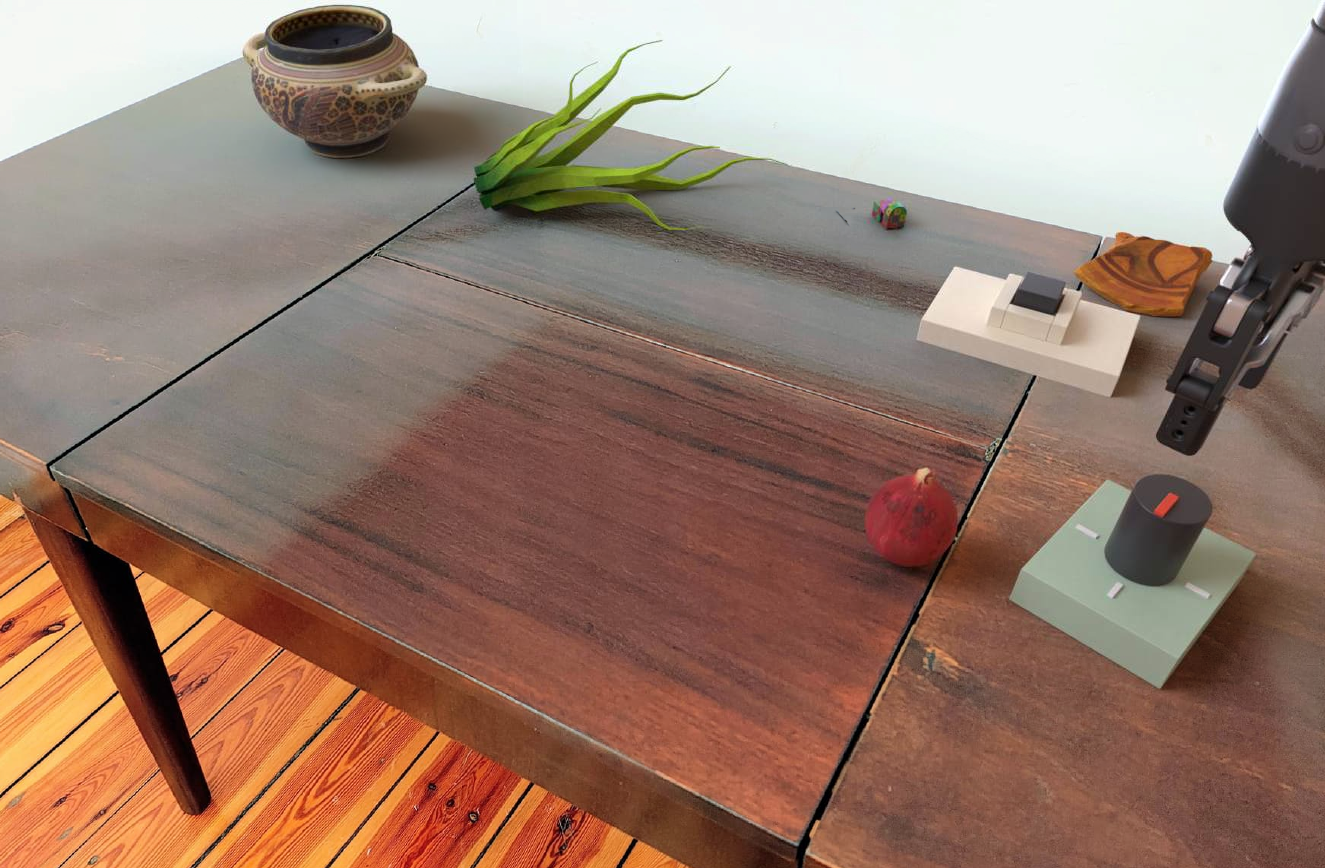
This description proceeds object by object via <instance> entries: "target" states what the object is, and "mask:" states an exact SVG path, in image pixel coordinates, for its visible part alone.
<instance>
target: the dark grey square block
mask: <svg viewBox="0 0 1325 868" xmlns="http://www.w3.org/2000/svg"><path fill="white" fill-rule="evenodd" d="M1023 277H1024V279H1023V281H1022V283H1021V285H1020V287H1019V288H1018V291H1017V294H1016V297H1015V300H1014V304H1013V305H1016V306H1019V307H1023V308H1027V309H1030V310H1034V311H1038V312H1041V313H1045V314H1049V315H1052V316H1053V314H1054V311H1055V309H1056V307H1057V305H1058V303H1059V301H1060V298H1061V295H1062V293H1063V290H1064V288H1066V284H1067V281H1065V280H1061V279H1058V278H1054V277H1049V276H1045V275H1042V274H1039V273H1034V272H1030V271H1027V272H1026V274H1025V275H1024V276H1023Z"/></svg>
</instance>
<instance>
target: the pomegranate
mask: <svg viewBox="0 0 1325 868" xmlns="http://www.w3.org/2000/svg"><path fill="white" fill-rule="evenodd" d="M935 476H936V473H935V472H934V470H932V469H931V468H930V467H928V466H926V467H924V468H919V469H917V470H916V473H915V474H904V475H901V476H897V477H893V478H891V479H889V480H888V481H886V482H885V483H884V484H882V485H881V486H880V487H879V488H878V489H876V491H874V493H873V495H872V496H871V497H870V499H869V501H868V504H867V507H866V510H865V515H864V529H865V533H866V536H867V539H868V541H869V544H870V545H871V547H872V548H873V549H874V550H875V552H876V553H877V554H878V556H880V557H881V558H882V559H885V560H886V561H888V562H890V563H891V564H892V565H893V564H894V565H897V566H900V567H905V568H909V567H922V566H924V565H926V564H929V563H931V562H932V561H935V560H936V559H938V558H941V557H942V556H943V555H944V553H945V552H946V551H947V550H948V549H949V548H950V546H951V545H952V543H953V542H954V541H955V539H956V535H957V533H958V523H959V521H958V519H959V515H958V509H957V506H956V504H955V500H954V499H953V496H952V494H951V493H950V491H949V490H948V489H947V488H946V487H945V486H944V485H943V484H942V483H941V482H940V481H938V480H936V479H935Z"/></svg>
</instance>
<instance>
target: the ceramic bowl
mask: <svg viewBox="0 0 1325 868" xmlns="http://www.w3.org/2000/svg"><path fill="white" fill-rule="evenodd" d="M242 57H243V59H244V60H245V62H246V63H247V64H248V65H249V66H250V67H251V84H252V91H253V93H254V96H255V98H256V100H257V102H258V104H259V105H260V108H261V109H263V111H264V112H265V113H266V115H267V116H268V117H269V118H270V119H271V121H273V122H274V123H275V124H277V125H278V126H279V127H280V128H282V129H283V130H284V131H286V132H288V133H289V134H291V135H293V136H296V137H298V138H300V139H303V140H304V142H305V146H306V147H307V148H308V149H309V150H310V151H311V152H312V153H314V154H316V155H319V156H323V157H328V158H333V159H341V158H342V159H348V158H356V157H363V156H366V155H370V154H372V153H375V152H376V151H378V150H380V149H382V148H383V147H384V146H385V145H386V144H387V143H388V141H389V140H390V131H391V130H392V129H393V128H394V127H395V126H397V125H398V124H399V123H400V122H402V120H403V119H404V118H405V116H406V115H407V114H408V113H409V111H410V110H411V109H412V106H413V104H414V103H415V102H416V99H417V96H418V93H419V90H420V89H422V88H423V87H424V86H425V85H426V83H427V81H428V74H427V73H426V71H424V69H423V68H420V66H419V62H418V59H417V57H416V54H415V53H414V50H413V49H412V47H410V45H409V44H408V43H407V42H406V41H405V40H404V39H402V37H400V36H399V35H398V34H396V33H394V32H393V26H392V20H391V18H390V17H389V16H388V15H387V14H386V13H384V12H382V11H381V10H379V9H376V8H374V7H370V6H365V5H357V4H327V5H318V6H313V7H308V8H304V9H300V10H296V11H293V12H291V13H289V14H285V15H283V16H281V17H278V18H277V19H275V20H272V21H271V23H270V24H268V26H267V27H266V29H265V32H261V33H257V34H255V35H254V36H252V37H251V38H249V39H248V40H247V41H246V43H245V44H244V45H243V48H242Z"/></svg>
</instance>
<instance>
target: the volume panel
mask: <svg viewBox="0 0 1325 868" xmlns="http://www.w3.org/2000/svg"><path fill="white" fill-rule="evenodd" d="M1131 491H1132V490H1130V489H1128V488H1127V487H1125V486H1122V485H1121V484H1119V483H1117V482H1114V481H1113V480H1110V479H1106V480H1105V481H1104V482H1103V483H1102V484H1101V485H1100V486H1099V487H1098V489H1096V491H1095V492H1093V494H1092V495H1091V496H1089V498H1088V499H1087V500H1086V501H1085V502H1084V503H1083V504H1082V505H1081V506H1080V507H1079V508H1078V509H1077V510H1076V511H1075V512H1074V513H1073V514H1072V515H1071V517H1070V518H1068V519H1067V521H1066V522H1065V523H1064V524H1063V525H1062V526H1061V527H1060V528H1058V530H1057V531H1056V532H1055V533H1054V534H1053V535H1052V536H1051V538H1049V539H1048V540H1047V542H1046V543H1045V544H1044V545H1042V547H1040V549H1039V550H1038V551H1037V552H1036V553H1035V554H1034V555H1033V556H1032V557H1031V558H1030V559H1029V560H1028V561H1027V562H1026V563H1025V565H1024V566H1022V567H1021V569H1020V572H1019V574H1018V576H1017V579H1016V581H1015V584H1014V586H1013V588H1012V590H1011V594H1010V595H1009V598H1008V600H1009V601H1010V602H1012V603H1014V604H1016V605H1017V606H1018V607H1020V608H1022V609H1024V610H1026V611H1027V612H1029V613H1031V614H1032V615H1034V616H1036V617H1037V618H1039V619H1041V620H1042V621H1044V622H1045V623H1047V624H1048V625H1051V626H1053V627H1054V628H1056V629H1058V630H1059V631H1061V632H1062V633H1064V634H1066V635H1068V636H1069V637H1071V638H1073V639H1074V640H1076V641H1078V642H1079V643H1081V644H1083V645H1085V646H1086V647H1088V648H1090V649H1091V650H1093V651H1095V652H1096V653H1098V654H1100V655H1101V656H1103V657H1105V658H1107V659H1109V660H1110V661H1112V662H1113V663H1115V664H1116V665H1118V666H1120V667H1122V668H1123V669H1124V670H1127V671H1129V672H1130V673H1132V674H1133V675H1135V676H1137V677H1138V678H1140V679H1142V680H1143V681H1145V682H1147V683H1148V684H1150V685H1152V686H1154V687H1155V688H1157V689H1159V690H1161V689H1162V688H1163V687H1164V685H1165V684H1166V682H1167V681H1168V680H1169V679H1170V677H1171V676H1172V674H1173V673H1174V671H1175V670H1176V669H1177V667H1178V666H1179V665H1180V663H1181V662H1182V661H1183V659H1184V658H1186V657H1185V656H1186V655H1187V654H1188V653H1189V651H1190V650H1191V649H1192V647H1193V646H1194V644H1195V643H1196V642H1197V640H1198V639H1199V638H1200V636H1201V635H1202V633H1204V631H1205V629H1206V628H1207V627H1208V626H1209V624H1210V623H1211V622H1212V620H1213V619H1214V617H1215V616H1216V615H1217V613H1218V612H1219V611H1220V609H1221V608H1222V607H1223V605H1224V604H1225V603H1226V602H1227V600H1228V599H1229V597H1230V596H1231V594H1232V593H1233V592H1234V591H1235V589H1236V588H1237V586H1238V585H1239V584H1240V582H1241V580H1242V579H1243V577H1244V576H1245V574H1246V572H1247V571H1248V569H1249V568H1250V566H1251V565H1252V563H1253V562H1254V559H1255V558H1256V556H1257V555H1258V553H1257V552H1256V551H1253V550H1250V549H1249V548H1246V547H1244V546H1242V545H1241V544H1238V543H1237V542H1235V541H1233V540H1230V539H1228V538H1226V537H1225V536H1222V535H1221V534H1219V533H1217V532H1214V531H1213V530H1210V529H1209V528H1207V527H1204V529H1203V530H1202V532H1201V534H1200V536H1199V537H1198V539H1197V541H1196V543H1195V544H1194V546H1193V548H1192V550H1191V552H1190V553H1189V555H1188V557H1187V559H1186V560H1185V562H1184V564H1183V566H1182V567H1181V569H1180V571H1179V573H1178V574H1177V576H1176V578H1175V579H1174V580H1173V581H1171V582H1169V583H1167V584H1164V585H1159V586H1149V585H1143V584H1139V583H1135V582H1133V581H1130V580H1128V579H1126V578H1124V577H1123V576H1121V575H1120V574H1118V573H1117V572H1116V571H1115V570H1114V569H1113V568H1112V567H1111V566H1110V565H1109V564H1108V562H1107V560H1106V558H1105V554H1104V549H1105V545H1106V543H1107V541H1108V539H1109V537H1110V535H1111V533H1112V531H1113V529H1114V527H1115V525H1116V522H1117V520H1118V518H1119V516H1120V514H1121V512H1122V510H1123V508H1124V506H1125V504H1126V502H1127V500H1128V498H1129V495H1130V493H1131Z"/></svg>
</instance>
